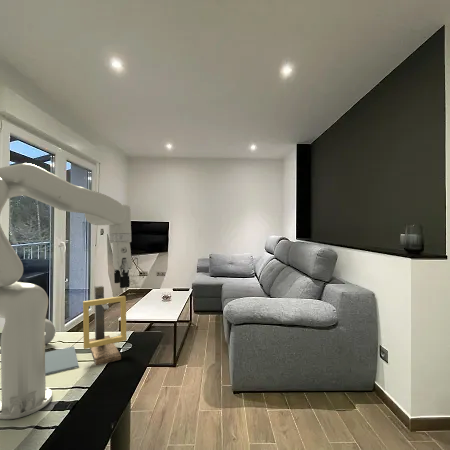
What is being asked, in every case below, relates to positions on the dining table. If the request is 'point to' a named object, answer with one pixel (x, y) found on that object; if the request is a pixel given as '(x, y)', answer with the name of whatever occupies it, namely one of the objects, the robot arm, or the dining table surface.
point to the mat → (60, 360)
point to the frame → (86, 321)
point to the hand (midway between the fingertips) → (121, 285)
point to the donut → (49, 331)
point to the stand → (102, 334)
